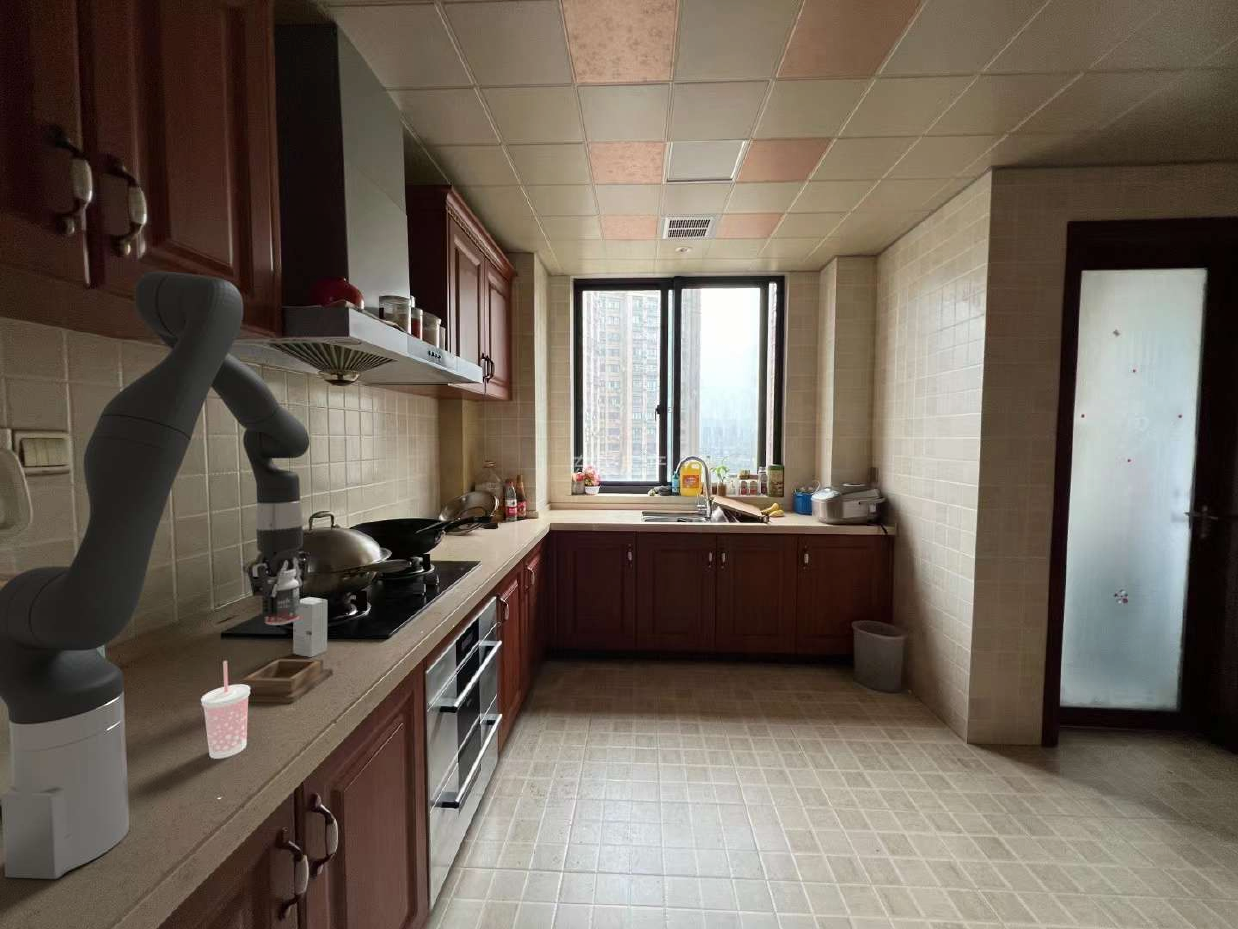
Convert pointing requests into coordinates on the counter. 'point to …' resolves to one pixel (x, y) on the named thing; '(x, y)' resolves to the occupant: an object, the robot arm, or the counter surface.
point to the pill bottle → (286, 600)
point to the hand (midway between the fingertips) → (282, 610)
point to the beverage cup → (226, 718)
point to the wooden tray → (285, 680)
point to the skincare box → (310, 627)
